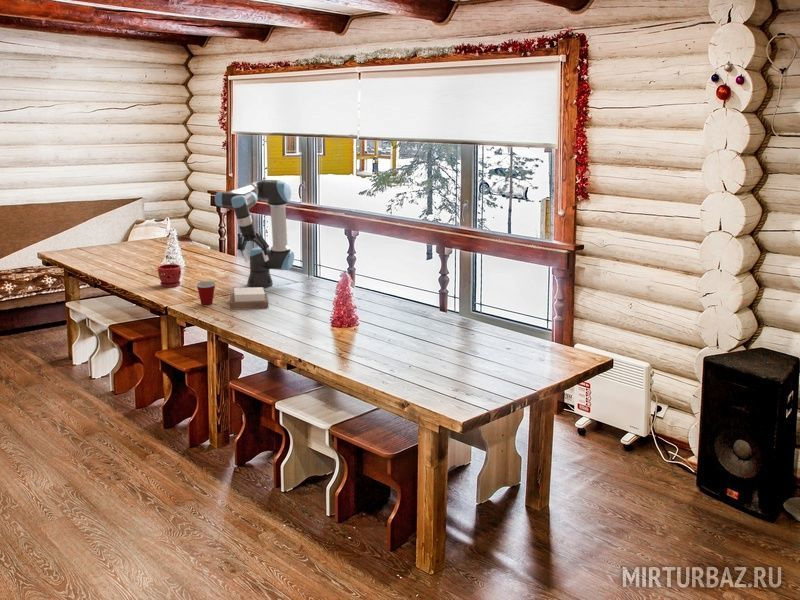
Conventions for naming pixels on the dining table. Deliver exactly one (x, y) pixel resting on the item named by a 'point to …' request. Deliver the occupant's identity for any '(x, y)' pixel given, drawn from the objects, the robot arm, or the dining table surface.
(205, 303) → the plastic cup
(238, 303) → the tower base slab
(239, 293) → the tower top slab
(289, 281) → the dining table surface
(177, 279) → the plant pot
